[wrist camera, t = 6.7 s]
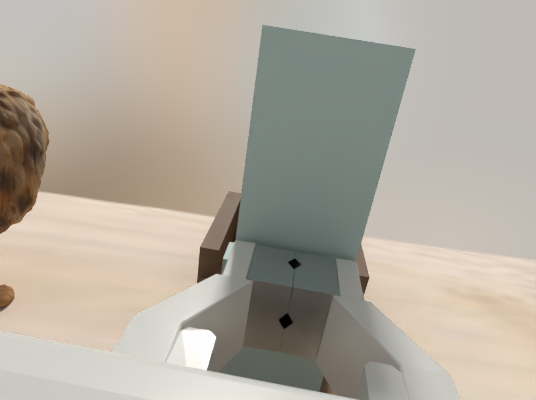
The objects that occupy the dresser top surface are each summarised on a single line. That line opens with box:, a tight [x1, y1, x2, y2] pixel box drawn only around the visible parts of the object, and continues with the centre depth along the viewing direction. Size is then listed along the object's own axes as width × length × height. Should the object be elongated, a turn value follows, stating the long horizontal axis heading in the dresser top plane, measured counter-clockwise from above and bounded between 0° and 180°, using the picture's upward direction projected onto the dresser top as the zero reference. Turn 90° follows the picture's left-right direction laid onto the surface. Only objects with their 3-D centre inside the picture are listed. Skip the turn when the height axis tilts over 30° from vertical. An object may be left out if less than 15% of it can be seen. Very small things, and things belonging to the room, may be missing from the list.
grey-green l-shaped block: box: [219, 25, 415, 392], centre depth 12 cm, size 4×4×11 cm
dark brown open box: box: [197, 192, 369, 296], centre depth 20 cm, size 7×6×4 cm
